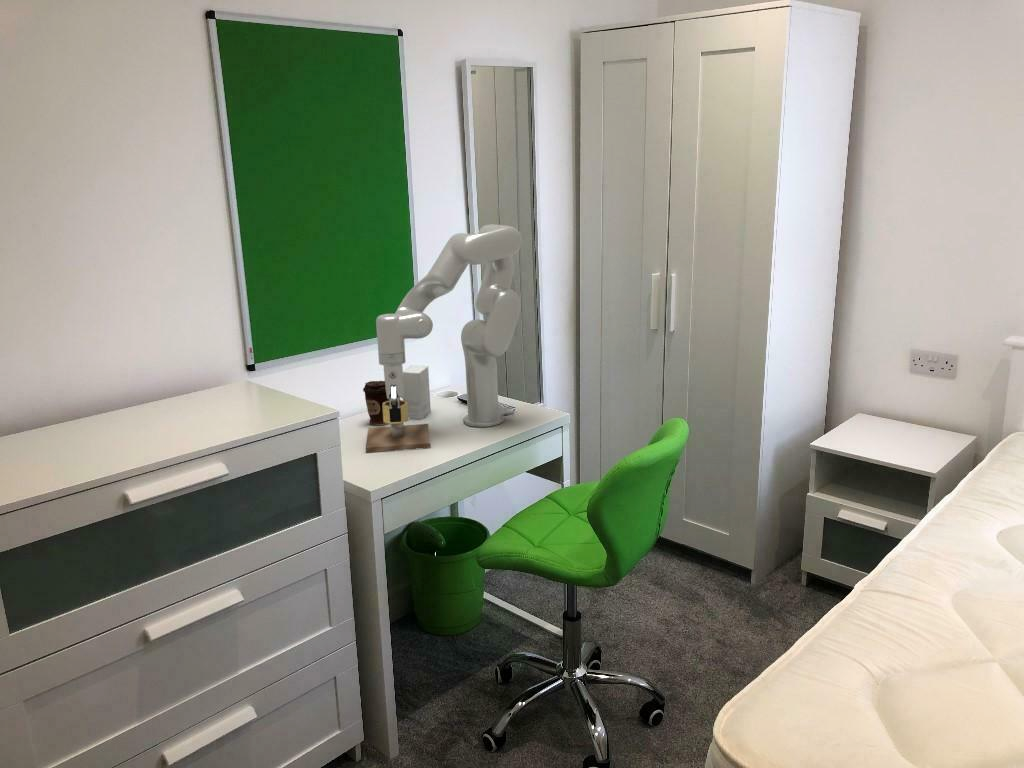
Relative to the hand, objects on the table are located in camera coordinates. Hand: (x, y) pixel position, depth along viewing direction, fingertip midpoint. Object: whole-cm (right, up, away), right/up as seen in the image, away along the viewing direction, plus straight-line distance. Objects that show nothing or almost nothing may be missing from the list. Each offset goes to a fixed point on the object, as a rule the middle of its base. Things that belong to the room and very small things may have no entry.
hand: (395, 417), depth 240 cm
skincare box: (+4, -1, +25) cm, 25 cm away
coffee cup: (-8, -3, +19) cm, 20 cm away
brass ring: (0, -1, 0) cm, 1 cm away
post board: (+1, -7, +2) cm, 7 cm away
